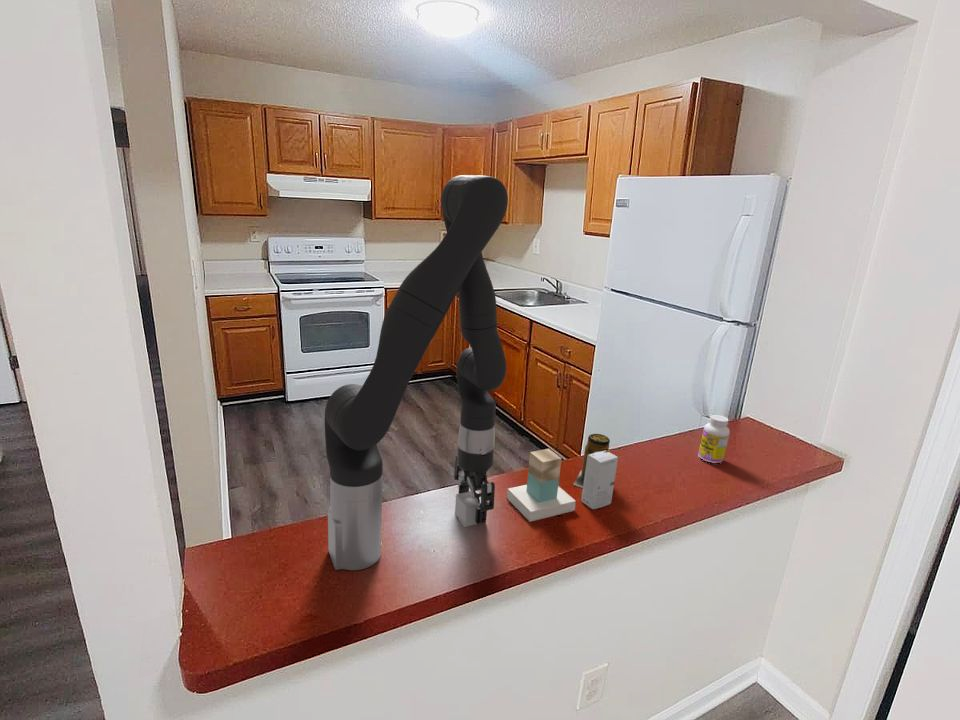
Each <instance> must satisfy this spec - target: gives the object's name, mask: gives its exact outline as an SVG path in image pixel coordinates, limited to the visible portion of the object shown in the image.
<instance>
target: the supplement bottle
mask: <svg viewBox="0 0 960 720" xmlns="http://www.w3.org/2000/svg"><path fill="white" fill-rule="evenodd" d="M728 425H729V418H728V417H726V416H724V415H721V414H711V415H710V417H709V422H708V423H706V424H705V425H704V426H703V431H702V436H701V440H700V444H699V448H698V449H699V450H698V454H697V456H698V458H699V457H700V458H701V459H703V460H705V461H708V462H712V463H717V462H722V461H724V458H725V454H726V449H727V445H728V442H729V437H730V432H731V431H730V429H729V427H728ZM700 458H699V459H700ZM701 459H700V460H701ZM703 460H702V461H703ZM722 463H723V462H722Z"/></svg>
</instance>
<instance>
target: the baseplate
mask: <svg viewBox="0 0 960 720" xmlns="http://www.w3.org/2000/svg"><path fill="white" fill-rule="evenodd" d="M526 490H527V484H523V485H519V486H514V487H508V488H507V493H506V499H507V500H508V501H509V502H510V503H511V504H512V505H513V506H514V507H515V508H516V509H517V510H518V511H519V512H520V513H521V514H522V515H523V517H524V518H525V519H526V520H527V521H528V522H529V523H530V522H534V521H538V520H542V519H546V518H551V517H554V516H558V515H562V514H566V513H571V512H575V509H576V502H577V501H576V500H575V498H573V497H572V496H571V495H570V494H568V492H566V490H564V489H563V488H561V486H560V485H558V492H557V498H556V499H551V500H547V501H543V502H539V503H538V502H537V501H536V500H535V499H534V498H533V497H532V496H531V495H530V494H529V493H528V492H527V491H526Z"/></svg>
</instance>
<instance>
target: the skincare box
mask: <svg viewBox="0 0 960 720" xmlns="http://www.w3.org/2000/svg"><path fill="white" fill-rule="evenodd" d="M618 460H619V457H618V456H617V455H615V454H613V453H612V452H608V451H606V450H605V451H601V452H595V453H593V454H589V455H588V456H587V463H586V470H585V477H584V484H583V488H582V491H581V492H582V493H581V499H580V501H581V502H582V503H583V504H584V505H586V507H588V508H590V509H592V510H597V509H600V508H604V507H606V506H609V505H611V504H612V500H613V493H614V487H615V480H616V474H617V468H618Z"/></svg>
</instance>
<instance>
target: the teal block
mask: <svg viewBox="0 0 960 720" xmlns="http://www.w3.org/2000/svg"><path fill="white" fill-rule="evenodd" d="M559 483H560V478H559V479H554V480H550V481H545V482H541V483H540V482H539V481H538V480H537V479H536V478H535V477H533V476H532V475H531V474H530V473H529V472H527V481H526V485H527V490H526V491H527V492H528V493H529V494H530V495H531V496H532V497H533V498H534V499H535V500H536V501H537V502H538V503H539V502H543V501H547V500H551V499H556V498H557V492H558V486H559Z"/></svg>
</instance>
